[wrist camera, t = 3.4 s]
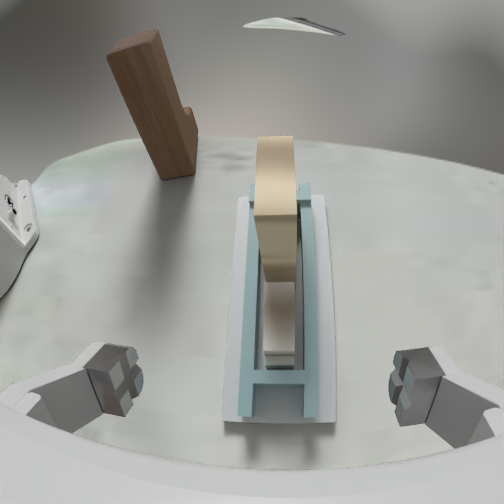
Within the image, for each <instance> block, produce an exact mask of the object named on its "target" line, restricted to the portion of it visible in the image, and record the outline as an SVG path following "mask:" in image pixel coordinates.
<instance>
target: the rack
mask: <svg viewBox="0 0 504 504" xmlns="http://www.w3.org/2000/svg"><path fill="white" fill-rule="evenodd" d="M254 195H255V184H251V189H250V193H249V197H238V205H237V216H236V228H235V240H234V252H233V264H232V276H231V289H230V302H229V315H228V329H227V343H226V357H225V372H224V388H223V404H222V421H231V422H249V423H328V422H336V356H335V326H334V306H333V289H332V274H331V261H330V249H329V238H328V228H327V218H326V209H325V200H324V195H311V191H310V185H309V183H299V191H296V202H297V256H296V290H295V355H294V369H266V367H265V355H264V352H263V332H264V302H265V282H266V281H265V276H264V270H263V265H262V259H261V254H260V248H259V243H258V237H257V232H256V226H255V221H254V216H253V215H254Z"/></svg>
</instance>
